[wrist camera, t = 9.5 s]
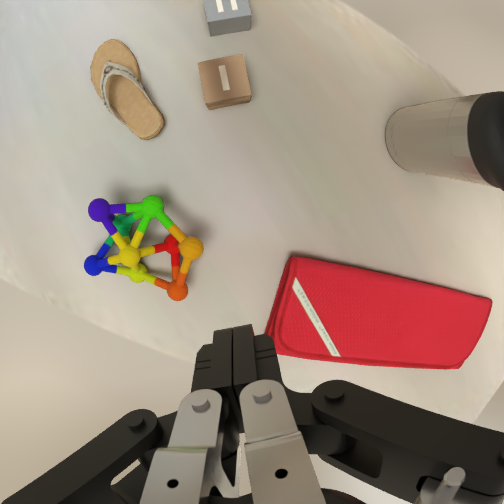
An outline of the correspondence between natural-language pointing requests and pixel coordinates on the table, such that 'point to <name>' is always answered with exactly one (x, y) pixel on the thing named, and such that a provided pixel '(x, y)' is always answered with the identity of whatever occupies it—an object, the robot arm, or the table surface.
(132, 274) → the decorative model
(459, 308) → the dish drying mat
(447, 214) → the table surface
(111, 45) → the sandal
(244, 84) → the walnut block
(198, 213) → the table surface
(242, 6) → the slate block
